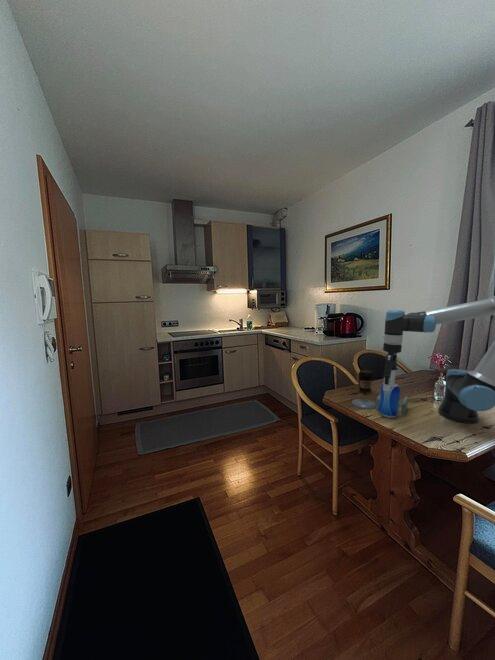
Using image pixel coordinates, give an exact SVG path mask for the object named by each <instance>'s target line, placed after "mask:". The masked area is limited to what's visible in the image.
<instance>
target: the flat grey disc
mask: <svg viewBox="0 0 495 660" xmlns="http://www.w3.org/2000/svg"><path fill="white" fill-rule="evenodd" d="M351 401H352V402H351V404H352V405H353V406H354V407H356V408H358V409H363V410H373V409H376V406H377V403H375V402H374V401H372V400H369V399H366V398H355V399H353V400H351Z"/></svg>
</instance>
